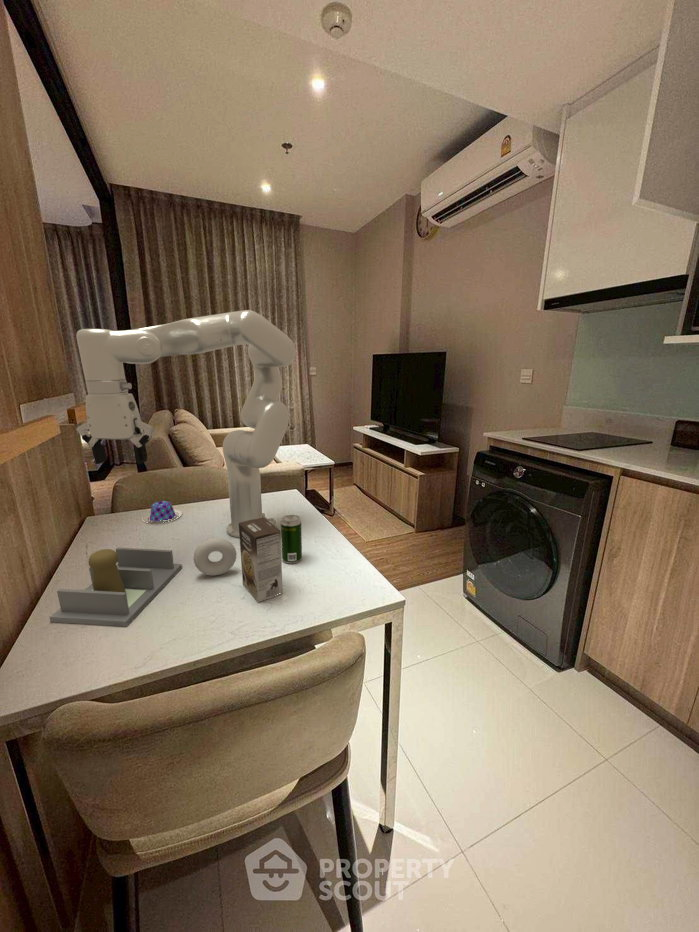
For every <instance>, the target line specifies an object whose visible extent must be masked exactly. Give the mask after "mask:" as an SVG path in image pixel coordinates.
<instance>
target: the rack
mask: <svg viewBox="0 0 699 932" xmlns="http://www.w3.org/2000/svg"><path fill="white" fill-rule="evenodd" d="M115 552H116V553H117V555H118V562H117V563H116V565H117V568H118V571H119V574H120V577H121V579H122V582H123V585H124V588H125V591H126V592H108V591H93V570H92V569H91V568H90V567H89V568H88V569H89V574H90V579H91V584H89V585H88V586H87V587H86V588H84V589H72V588H70V589H69V588H59V589H58V590H57V591H56V593H57V597H58V602H59V607H60V608H59V609H57V611H55V612H54V613H52V614H51V615H50V616H49V622H50V623H57V624H58V623H60V624H61V623H62V624H75V625H76V624H77V625H93V626H95V625H96V626H107V627H109V626H110V627H125V628H127V627H128V626H129V625H130V624H131V623H132V622H133V621H134V619H136V618H137V616H138V615H140V614H141V612H142V611H143V610H144V609H145V608H146V607H147V606H148V605H149V604H150V603H151V602H152V601H153V600H154V598H155V597H157V595H159V593H160V592H161V591H162V590H163V589H164V588H165V587H167V585H168V584H169V583H170V582H171V581H172V580H173V579H174V577H176V575H177V574H178V573H179V572H180V571H181V570H182V569H183V564H182V563H174V555H173V549H158V548H157V549H153V548H133V547H117V548H115Z"/></svg>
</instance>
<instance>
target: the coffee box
mask: <svg viewBox="0 0 699 932" xmlns="http://www.w3.org/2000/svg"><path fill="white" fill-rule="evenodd" d="M238 524H239V536H240V538H239V549H240V559H241V573H242V574H241V575H242V576H241V577H242V584H243V586H244V588H245V589H246V590H247V591H248V592H249V593H250V595H251V596H252V597H253V598H254V599H255V601H256V602H257V603H258V602H259V603H262V602H264V601H267V600H269V599H271V598H270V597H272V598H274V597H273V596H275V595H277V594H279V593H282V594H283V573H282V572H283V569H282V567H283V564H282V562H283V559H282V544H281V528H280V529H279V528H278V527H277V526H276V525H275V526H274V525H273V524H272V523H270V522H269V521H268V520H267V519H265V518H264V517H262V518H258V519H252V520H248V521H244V522H240V523H238ZM277 596H278V595H277ZM275 597H276V596H275ZM268 598H269V599H268ZM266 599H267V600H266ZM263 600H264V601H263ZM261 601H262V602H261Z"/></svg>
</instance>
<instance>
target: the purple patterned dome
mask: <svg viewBox="0 0 699 932" xmlns="http://www.w3.org/2000/svg"><path fill="white" fill-rule="evenodd" d="M175 512H178V513H179V517H177V518H176V519H174V520H172V518H175V517H176V516H175V515H176V514H175ZM182 512H183V511H181V510H178V509H174V507H173V505H172V503H171V502H170V501H168V500H166V501H165V500H160V501H156V502H154V503H152V504H151V506H150V518H149V521H150V520H154V521H160V520H161V521H163V520H168V519H171V521H169V520H168V522H172V521H175V520H177V519H179V518H180V517H181V516H183V515H182V514H183V513H182ZM174 516H175V517H174ZM154 521H153V522H154ZM142 522H145V521H144V520H143V519H142ZM168 522H167V523H168ZM145 523H147V524H149V523H148V522H145ZM162 524H164V522H163V523H162Z"/></svg>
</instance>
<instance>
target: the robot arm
mask: <svg viewBox="0 0 699 932" xmlns="http://www.w3.org/2000/svg"><path fill="white" fill-rule="evenodd" d="M75 336H76V337H75V338H76V342H77V343H76V344H77V347H78V351H79V356H80V360H81V367H82V372H83V376H84V380H85V386H86V389H87V391H86V392H87V395H86V396H85V413H86V415H85V416H86V422H84V423H82V424H80V425H79V426H77V427H76V431H77V433H78V434H79V435H80V437H81V438H82V440H83V441H84V442H86V444H87V446H88V447H89V448H91V450H92V454H93V459H94V463H95V464H96V465H100V464H102V463H105V462H107V461H108V458H107V457H108V456H107V453H106V452H107V451H106V447H105V445H104V444H103V443H102V442H103V441H104V440H129V441H131V443H132V444H133V445H135V447H134V448H133V451H134V456H135V462H136V464H137V465H141V464H143V463H146V462H147V461H148V452H147V447H146V445H147V444H148V442H149V441H150V440H151V439H152V435H153V433H154V430H155V427H154V426H152V425H150V424H148V423H146V422H144V421H142V419H141V416H140V415H141V414H140V411H139V408H138V404H137V402H136V400H135V397H134V395H133V393H129V390H131V389H132V387H133V386H132V383H131V382H127V379H126V375H125V374H126V373H125V368H124V363H126V364H131V365H133V364H134V365H135V364H136V365H137V364H138V365H147V364H152V363H154V362H156V361H157V360H158V359H159V358H163V357H169V356H180V355H181V356H183V355H189V356H190V355H197V354H205V353H207V352H212V351H216V350H217V351H218V350H222V349H226V348H230V347H235V346H240V345H242V346H243V345H247V346H248V347H247V354H248V358H249V360H250V362H251V365H252V367H253V372H254V380H253V383H252V385H251V388H250V390H249V392H248V395H247V397H246V398H245V402H244V404H243V406H242V409H241V412H240V420H241V422H242V423H243V424H244V426H246V427H248V428H250V429H254V430H253V431H248V430H244V429H235V430H232V431H231V432H229V433H227V435H226V436H225V437H224V439H223V441H222V452H223V454H222V455H223V459H224V462H225V466H226V471H227V472H226V473H227V481H228V483H227V484H228V497H229V498H228V499H229V511H230V523H229V524H228V525H227V526H226V533H227V534H228V535H229V536H232V537H234V538H239V539H240V536H239V524H238V523H240V522H244V521H248V520H252V519H258V518H262V517H264V518H265V519H267V520H268V521H269V522H270V523H272V524H273V525H274V526H276V525H277V522H276V520H275V518H273V517H267V516H266V513H265V512H263V505H262V503H263V502H262V487H261V486H262V485H261V479H262V478H261V471H260V469H262V468H265V467H268V466H269V465H270V464H271V463H272V462H273V460H274V459H275V457H276V456H277V453H278V451H279V448H280V445H281V443H282V440H283V438H284V436H285V434H286V432H287V429H288V426H289V422H290V414H289V410H288V408H287V407H288V406H286V405H285V404H284V403H283V402H282V401H280V400H279V397H280V395H281V392H282V389H283V388H282V387H283V379H282V374H281V371H280V368H285V367H288V366H290V365H291V364H292V363H293V362H294V361H295V359H296V356H297V350H296V347H295V343H294V342H293V340H292V339H291V338H290V337H289V336H288V335H287V334H286V333H284V332H283V331H281V329H279V328H278V327H277V326H276V325H274V324H273V323H272V322H270V321H269V320H268V319H266V317H264V316H263V315H262V314H260V313H258V312H256V311H254V310H252V309H245V310H237V311H230V312H229V311H228V312H224V313H217V314H210V315H204V316H203V315H202V316H197V317H190V318H185V319H184V318H183V319H180V320H176V321H173V322H169V323H164V324H158V325H153V326H152V325H151V326H148V327H141V328H139V327H138V328H133V329H126V330H125V329H124V330H112V329H107V328H106V329H105V328H82V329H79V330H77V332H76V335H75ZM143 433H144V434H143Z"/></svg>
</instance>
